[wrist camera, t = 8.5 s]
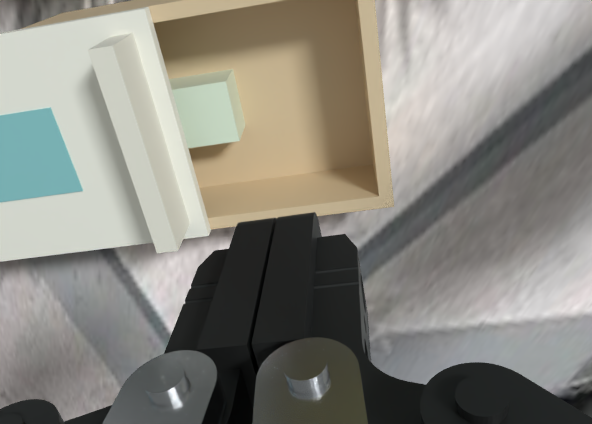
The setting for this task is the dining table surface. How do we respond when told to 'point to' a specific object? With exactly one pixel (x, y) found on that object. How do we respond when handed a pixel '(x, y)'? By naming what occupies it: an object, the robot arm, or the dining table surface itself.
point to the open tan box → (282, 102)
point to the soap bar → (209, 108)
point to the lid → (92, 141)
